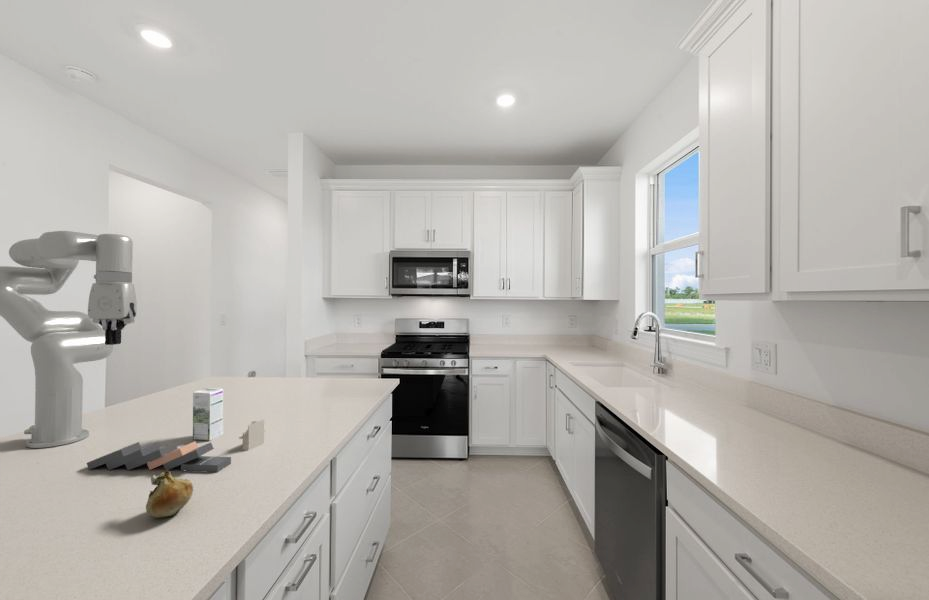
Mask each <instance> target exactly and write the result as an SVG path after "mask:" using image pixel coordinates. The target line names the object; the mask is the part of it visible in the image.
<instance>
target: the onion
mask: <svg viewBox="0 0 929 600" xmlns="http://www.w3.org/2000/svg"><path fill="white" fill-rule="evenodd" d="M171 472H172V471H171V470H167V471H166V470H165V472H164V471H163V472H161V473H160V474H159V475H155V474H153V475H152V476H151V477H150V484H151V485H154V486H155V488H154V489H153V490H150V491H149V494H148V499H147V502H146V504H145V511H146V514H148V515H149V516H151V517H152V518H156V519H159V518H166V517H172V516H174V515H175V514H178V513H179V512H180V511H181V510H182V509H183V508H184V507H185V506H186V505H187V504H188V503H189V501H190V499H192V496H193V493H194V492H193V491H194V485H193V483H192V482H191V481H190V480H189V479H182V478H175V477H174V476H172V474H171Z"/></svg>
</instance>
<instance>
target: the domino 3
mask: <svg viewBox="0 0 929 600" xmlns="http://www.w3.org/2000/svg"><path fill="white" fill-rule="evenodd" d="M159 448H160V449H158V450H156V451H153V452H151V453H149V454H147V455H145V456H143V457H140V458H138V459H135V460H133V461H131V462H128V463H126V464H124V465H125V468H126V470H127V471H130V470H133V469H136V468H137V467H141V466H143V465H145V464H147V463H148V462H150V461H153V460H155V459H157V458H160V457H162V456H164V455H166V454H168V453H170V452H172V451H174V450H176V449H179V448H178V446H177V443H176V441H175V442H172V443H169V444H168V445H167V444H166V445H165V446H163V447H159Z"/></svg>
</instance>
